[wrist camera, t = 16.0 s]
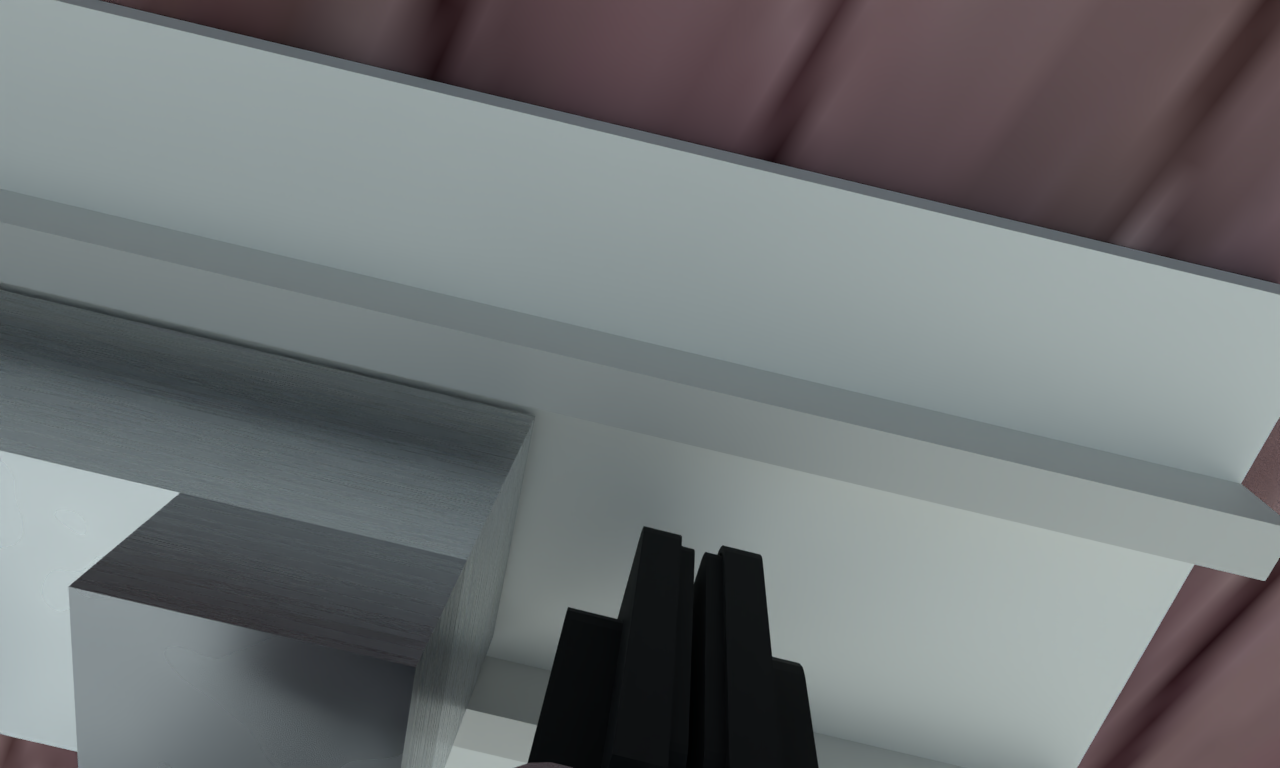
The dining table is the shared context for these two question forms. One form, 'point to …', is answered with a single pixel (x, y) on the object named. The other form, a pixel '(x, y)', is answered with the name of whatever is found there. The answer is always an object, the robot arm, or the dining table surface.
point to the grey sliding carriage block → (239, 550)
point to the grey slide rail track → (684, 366)
